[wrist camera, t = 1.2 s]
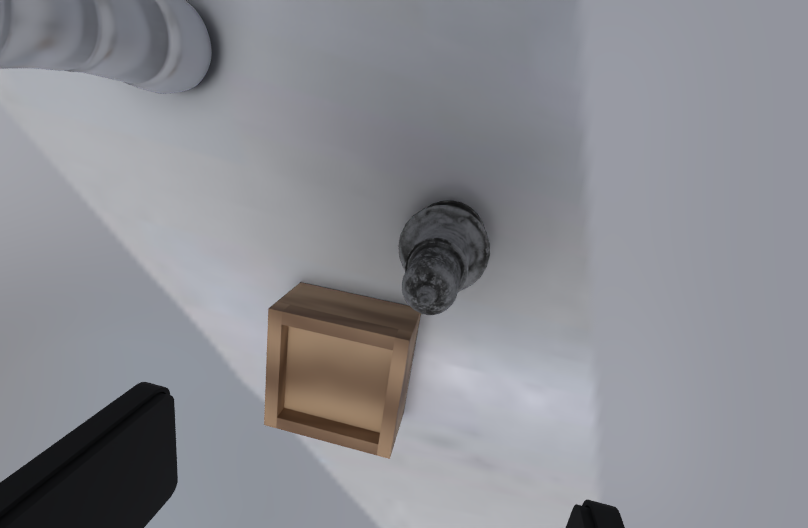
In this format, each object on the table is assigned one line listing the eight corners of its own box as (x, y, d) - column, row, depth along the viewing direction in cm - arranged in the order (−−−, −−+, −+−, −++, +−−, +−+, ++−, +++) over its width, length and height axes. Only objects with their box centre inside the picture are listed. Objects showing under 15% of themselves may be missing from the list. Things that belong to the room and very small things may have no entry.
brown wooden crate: (300, 282, 34) (268, 308, 29) (421, 308, 32) (409, 340, 27) (293, 385, 37) (264, 424, 32) (403, 413, 36) (389, 458, 31)
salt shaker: (494, 200, 29) (498, 246, 17) (484, 279, 30) (482, 368, 19) (410, 192, 30) (362, 232, 18) (406, 270, 31) (360, 349, 20)
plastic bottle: (211, 112, 31) (-224, 89, 12) (131, 70, 31) (-420, -19, 12) (236, 21, 28) (-254, -184, 10) (150, -24, 28) (-496, -312, 10)
